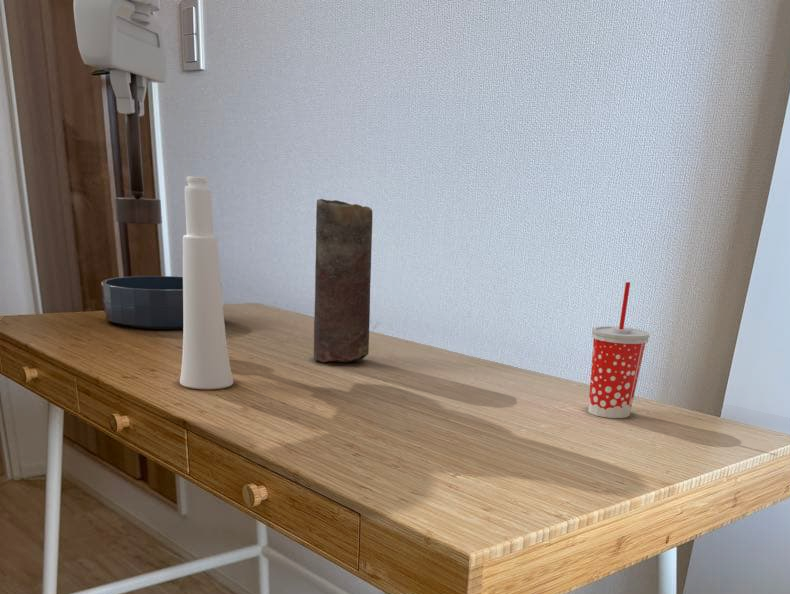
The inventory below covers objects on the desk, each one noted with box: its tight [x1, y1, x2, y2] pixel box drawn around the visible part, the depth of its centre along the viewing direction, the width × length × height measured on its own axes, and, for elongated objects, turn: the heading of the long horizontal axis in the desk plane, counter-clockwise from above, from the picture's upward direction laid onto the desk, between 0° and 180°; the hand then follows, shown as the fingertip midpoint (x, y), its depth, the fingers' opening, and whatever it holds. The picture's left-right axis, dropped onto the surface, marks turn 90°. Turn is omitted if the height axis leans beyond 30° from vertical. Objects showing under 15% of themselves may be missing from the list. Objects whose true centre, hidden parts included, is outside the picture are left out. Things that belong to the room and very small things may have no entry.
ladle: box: [113, 73, 163, 225], centre depth 110 cm, size 6×6×19 cm
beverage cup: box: [587, 281, 651, 419], centre depth 90 cm, size 6×6×14 cm
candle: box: [313, 198, 374, 363], centre depth 108 cm, size 8×7×20 cm
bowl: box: [100, 275, 223, 330], centre depth 133 cm, size 18×18×6 cm
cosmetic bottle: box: [179, 175, 234, 391], centre depth 92 cm, size 6×6×22 cm
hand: (131, 115), depth 108 cm, fingers closed on ladle
